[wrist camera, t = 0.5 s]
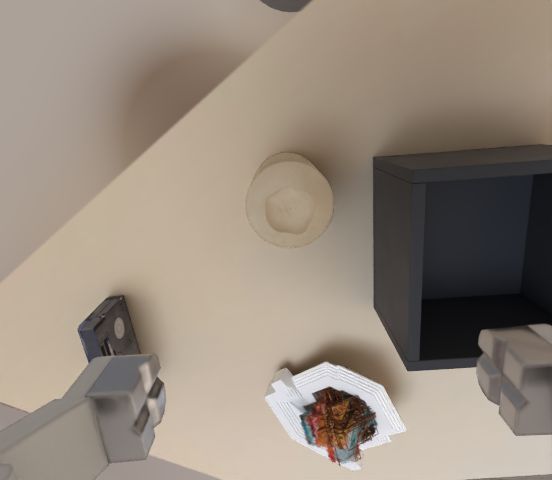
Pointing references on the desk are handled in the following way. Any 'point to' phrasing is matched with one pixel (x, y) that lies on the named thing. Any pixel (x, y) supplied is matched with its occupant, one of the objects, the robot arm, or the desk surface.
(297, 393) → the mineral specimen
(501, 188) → the dark open square box
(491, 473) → the desk surface
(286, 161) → the candle
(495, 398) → the robot arm
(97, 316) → the mini dv tape
